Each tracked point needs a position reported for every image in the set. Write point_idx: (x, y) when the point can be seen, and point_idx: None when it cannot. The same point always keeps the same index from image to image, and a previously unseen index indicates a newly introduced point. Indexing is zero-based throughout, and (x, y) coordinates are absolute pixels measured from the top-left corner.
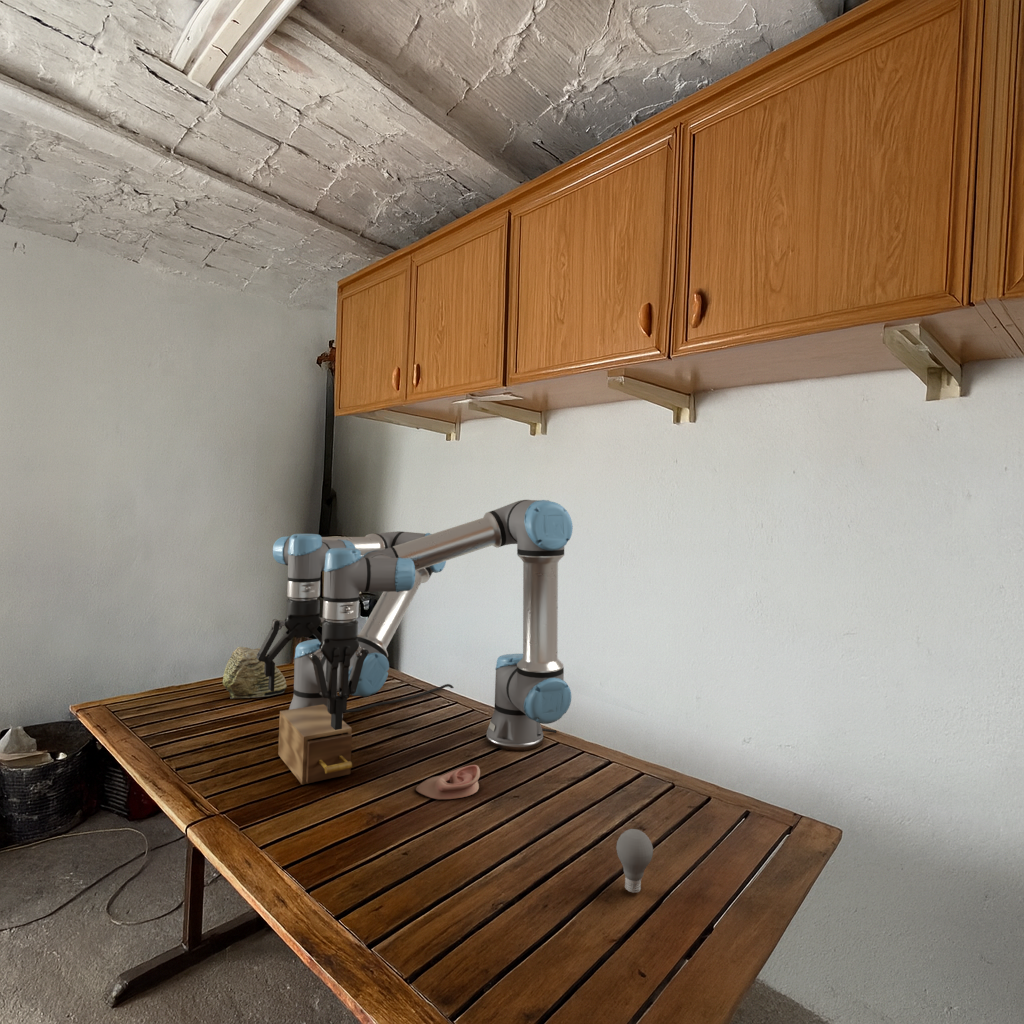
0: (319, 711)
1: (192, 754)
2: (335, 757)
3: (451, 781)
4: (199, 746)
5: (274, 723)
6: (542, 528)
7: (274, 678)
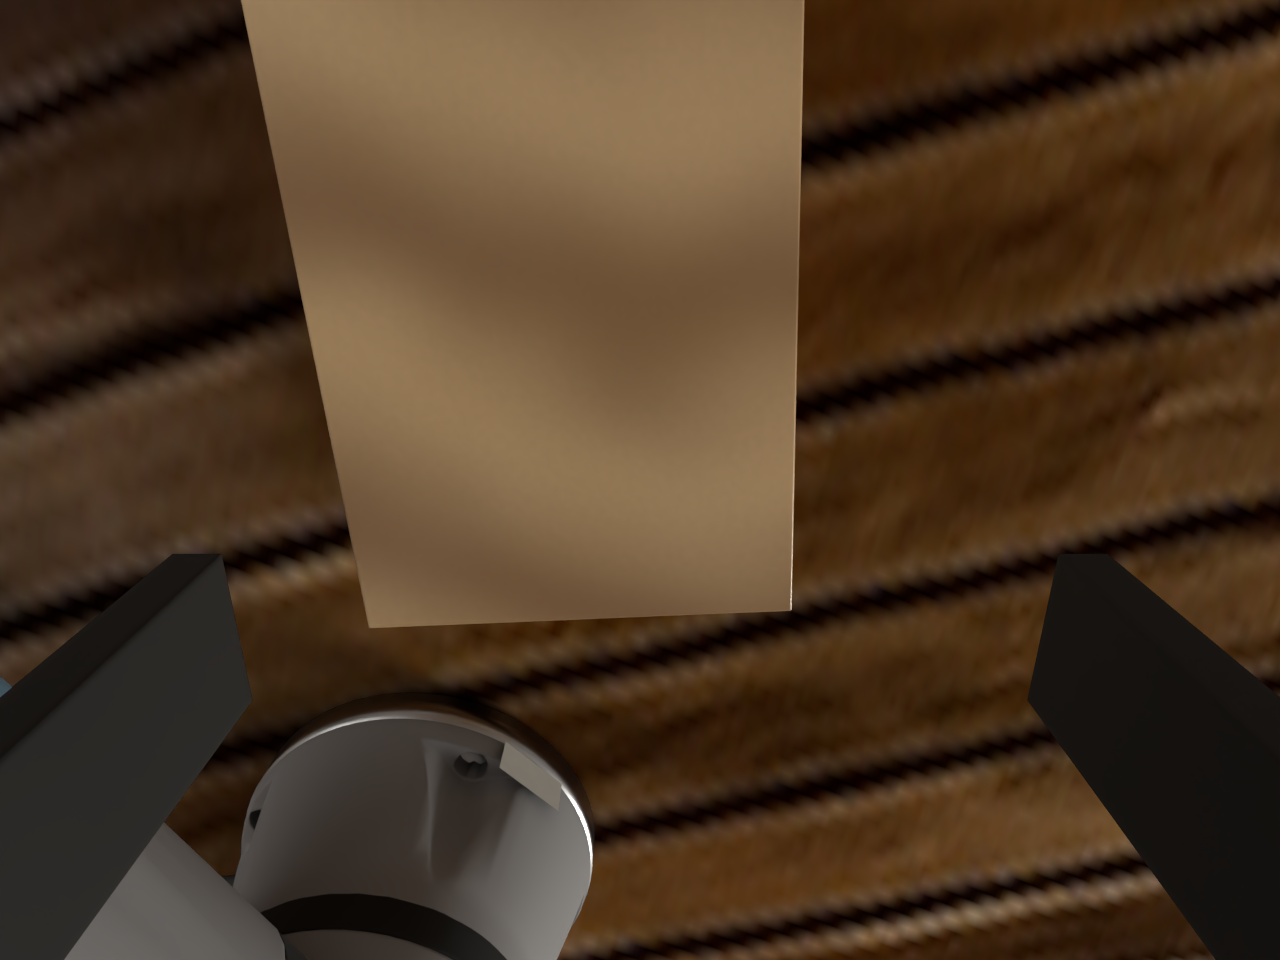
0: (446, 452)
1: None
2: None
3: None
4: None
5: (641, 893)
6: None
7: (1177, 663)
